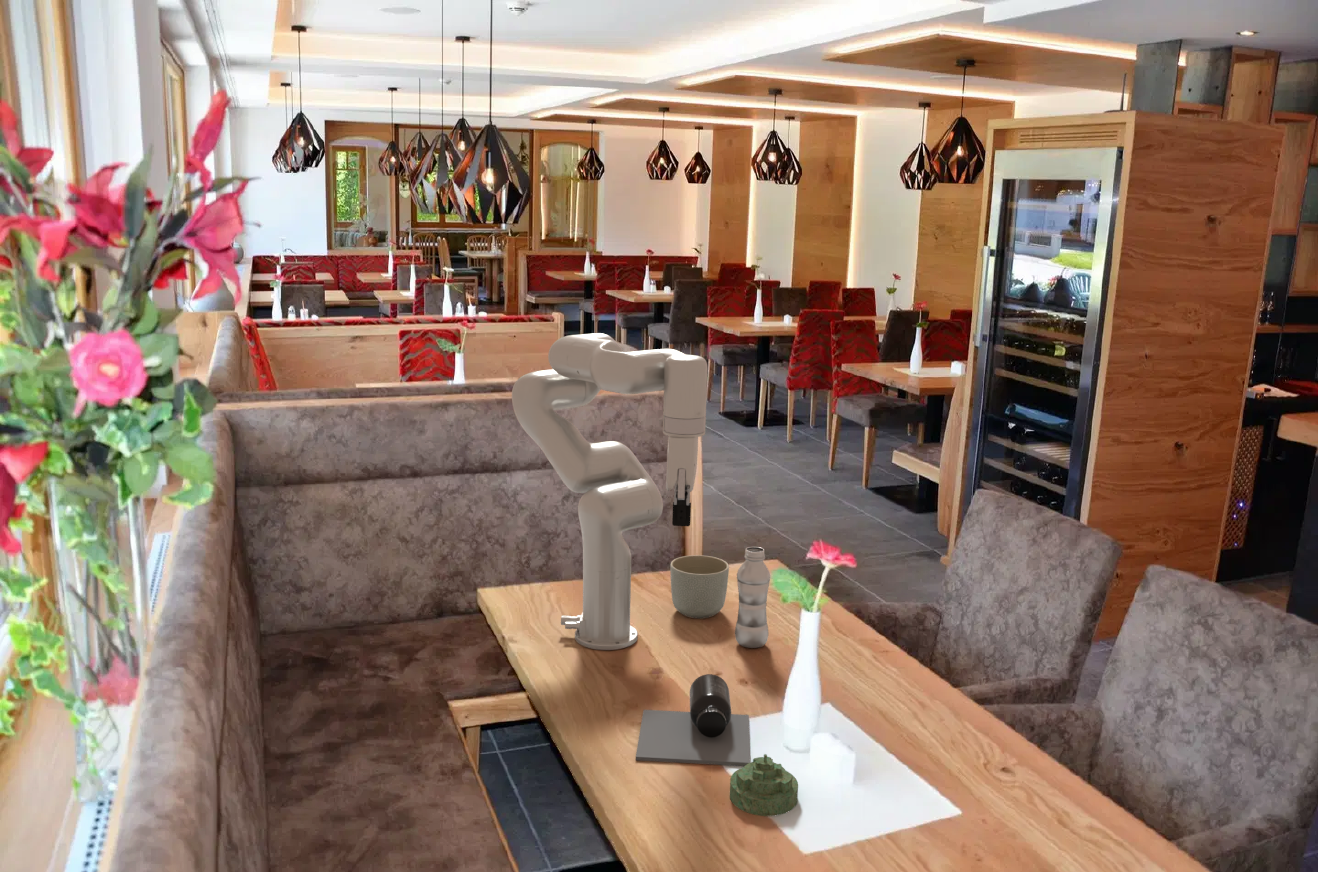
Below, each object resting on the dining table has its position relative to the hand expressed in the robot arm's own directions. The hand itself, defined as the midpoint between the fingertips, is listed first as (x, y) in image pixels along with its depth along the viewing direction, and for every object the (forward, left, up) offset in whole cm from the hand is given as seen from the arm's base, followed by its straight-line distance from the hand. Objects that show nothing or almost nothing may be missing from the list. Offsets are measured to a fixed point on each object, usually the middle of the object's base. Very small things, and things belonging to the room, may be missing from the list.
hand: (681, 524), depth 192 cm
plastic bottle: (+14, +15, -29) cm, 36 cm away
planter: (+3, +31, -29) cm, 43 cm away
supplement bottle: (+6, -14, -25) cm, 30 cm away
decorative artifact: (+15, -41, -30) cm, 52 cm away
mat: (+4, -24, -29) cm, 38 cm away
